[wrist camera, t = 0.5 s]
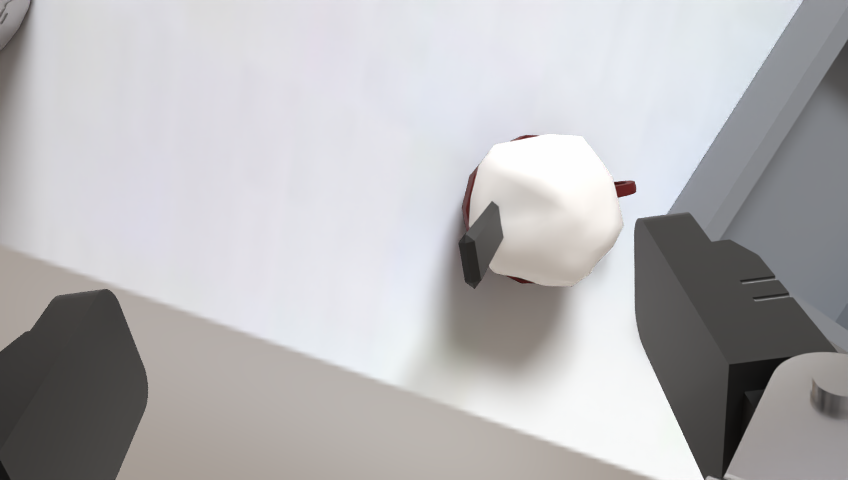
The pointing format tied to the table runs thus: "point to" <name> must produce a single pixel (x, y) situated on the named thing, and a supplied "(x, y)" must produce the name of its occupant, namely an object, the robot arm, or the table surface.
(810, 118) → the dock tray
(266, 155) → the table surface
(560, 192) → the cocoa
